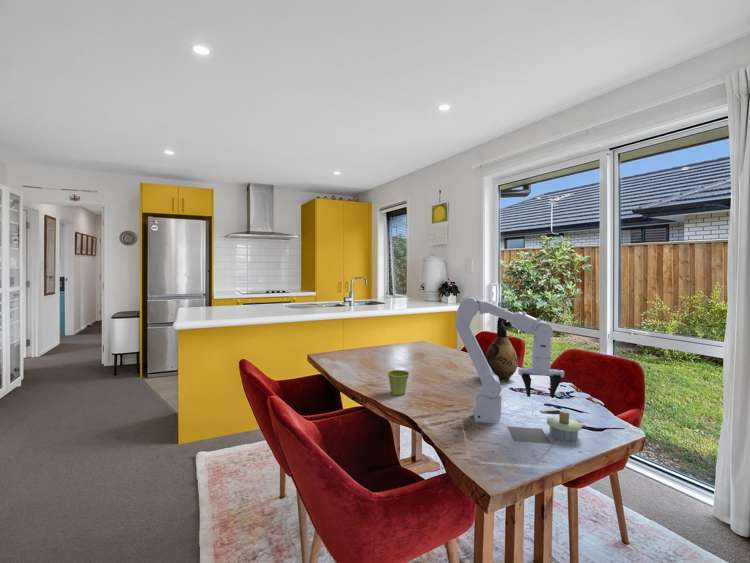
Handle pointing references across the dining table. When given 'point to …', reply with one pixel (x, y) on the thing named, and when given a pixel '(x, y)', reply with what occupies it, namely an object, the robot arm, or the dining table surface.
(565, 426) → the lid
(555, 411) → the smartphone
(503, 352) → the ceramic jug
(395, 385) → the plant pot
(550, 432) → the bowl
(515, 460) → the dining table surface
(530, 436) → the mat
